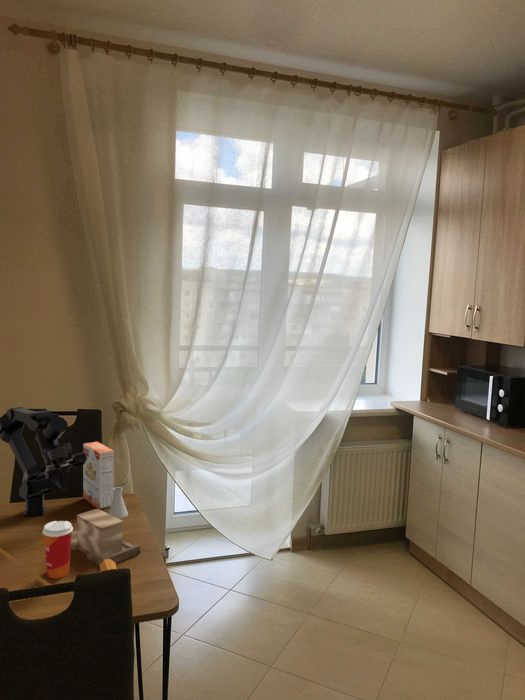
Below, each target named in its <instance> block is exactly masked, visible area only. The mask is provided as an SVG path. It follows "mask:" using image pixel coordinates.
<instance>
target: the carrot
mask: <svg viewBox="0 0 525 700" xmlns="http://www.w3.org/2000/svg"><path fill="white" fill-rule="evenodd" d="M110 569H117V563H115V562H113V561H112V560H111V559H106V560H104V561H103V562H102V563H101V564H100V566H99V572H100V571H104V570H110ZM117 570H118V569H117Z"/></svg>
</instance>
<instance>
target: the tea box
mask: <svg viewBox="0 0 525 700" xmlns="http://www.w3.org/2000/svg"><path fill="white" fill-rule="evenodd" d="M108 513H109V512H108ZM108 513H107V512H106V511H103V510H102V509H101V508H100V509H99V508H98V507H96V508H94V509H92V510H89V511H85V512H82V513H79V514H76V530H77V545H79V546H81V547H82V548H84V549H86V550H87V551H89V552H91V553H92V554H94V555H96V556H97V557H99V558H101V559H102V558H104V557H107V556H109V555H112V554H115V553H117V552H120V551H122V549H123V540H124V539H123V536H124V535H123V532H124V531H123V530H124V521H123V520H122V519H118V518H116V517H114V516H112V515H110V514H108Z"/></svg>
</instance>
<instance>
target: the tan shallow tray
mask: <svg viewBox="0 0 525 700" xmlns="http://www.w3.org/2000/svg"><path fill="white" fill-rule="evenodd" d="M71 550H72V551H74V552H76V551H80V552H82V553H83V554H85V555H86V559H87V560H89V561H90V562H93V563H94V564H96V565H97V566H98V567H100V564H101V563H102V562H103V561H104V560H106V559H111V560H112V561H113V562H115V563H116V564H118V563H119V562H121V561H125V560H127V559H129V558H132V557H134V556H136V555H139V554H141V545H139V544H135V545H134V544H131V543H129V542H127V541H126V540H124V539H123V549H122V551H120V552H117V553H115V554H112V555H109V556H107V557H104V558H102V559H101V558H99V557H97V556H96V555H94V554H92V553H91V552H89V551H87V550H86V549H84V548H82V547H81V546H79V545H77V529H76V530H73V531H72V535H71Z"/></svg>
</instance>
